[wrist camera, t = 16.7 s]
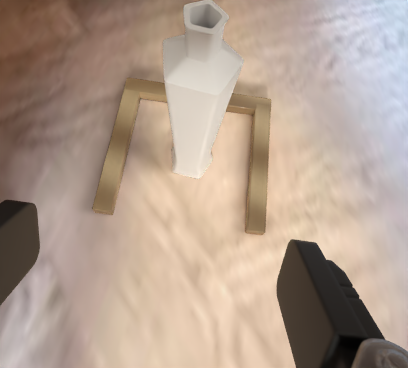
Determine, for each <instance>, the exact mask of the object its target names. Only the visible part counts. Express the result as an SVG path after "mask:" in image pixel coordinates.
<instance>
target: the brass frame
mask: <svg viewBox="0 0 408 368" xmlns="http://www.w3.org/2000/svg"><path fill="white" fill-rule="evenodd" d="M141 98H142V99H149V100H155V101H162V102H167V96H166V89H165V83H161V82H154V81H148V80H141V79H134V78H127V80H126V84H125V87H124V91H123V95H122V99H121V102H120V106H119V110H118V114H117V117H116V121H115V125H114V129H113V132H112V136H111V140H110V144H109V147H108V151H107V155H106V159H105V162H104V166H103V170H102V174H101V178H100V181H99V185H98V189H97V193H96V196H95V200H94V204H93V208H92V209H93V211H94V212H95V213H102V214H110V215H113V212H114V208H115V204H116V199H117V195H118V191H119V187H120V183H121V178H122V174H123V170H124V166H125V162H126V157H127V153H128V149H129V145H130V141H131V136H132V132H133V128H134V124H135V120H136V115H137V111H138V107H139V103H140V99H141ZM226 111H229V112H236V113H243V114H249V115H253V125H252V139H251V154H250V169H249V184H248V198H247V213H246V228H245V232H246V233H250V234H258V235H263V234H264V233H265V228H266V205H267V182H268V158H269V135H270V112H271V99H267V98H260V97H254V96H247V95H241V94H234V93H232V95H231V98H230V100H229V103H228V106H227V109H226Z"/></svg>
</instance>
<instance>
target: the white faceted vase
mask: <svg viewBox="0 0 408 368" xmlns="http://www.w3.org/2000/svg"><path fill="white" fill-rule="evenodd" d="M183 14H184V25H185V34H184V35H180V36H175V37H171V38H167V39H165V40H164V41H163V65H164V82H165V89H166V96H167V103H168V110H169V116H170V123H171V130H172V137H173V144H174V146H173V148H172V171H173V172H174V173H176V174H180V175H183V176H187V177H191V178H195V179H200V178H201V177H202V175H203V174H204V172H205V171H206V170H207V168H208V167H209V165H210V164H211V162H212V161H213V157H212V154H211V149H212V146H213V144H214V141H215V138H216V135H217V133H218V130H219V127H220V125H221V122H222V119H223V117H224V114H225V111H226V109H227V106H228V103H229V100H230V98H231V95H232V92H233V90H234V87H235V84H236V82H237V79H238V76H239V74H240V71H241V68H242V65H243V63H244V59H243V58H242V57H241V56H240V55H239V54H238V53H237V52H236V51H235V50H234V49H233V48H232V47H231V46H229V45H228V44H227V43H226V42H225V41H224V40H223V39H222V37H223V31H224V25H225V23H226V22H227V21H228V19H229V16H228V14H227V13H226V12H225V11H224V10H222V9H221V8H220V7H219V6H218V5H217V4H216V3H215V2H214V1H212V0H203V1H199V2H194V3H189V4H186V5H185V6H184V8H183Z"/></svg>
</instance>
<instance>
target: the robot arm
mask: <svg viewBox="0 0 408 368" xmlns="http://www.w3.org/2000/svg"><path fill="white" fill-rule="evenodd" d="M39 249H40V243H39V230H38V217H37V208H36V206H35V204H33V203H28V202H21V201H14V200H5V201H3V202H2V203H0V305H1V304H2V303H3V302H4V300H5V299H6V298H7V297H8V296H9V294H10V293H11V292H12V291H13V290H14V288H15V287H16V286H17V285H18V284H19V282H20V281H21V280H22V279H23V278H24V276H25V275H26V274H27V273H28V272H29V270H30V269H31V268H32V267H33V265H34V264H35V262H36V260H37V257H38V254H39ZM352 286H353V285H352V284H351V282H350V280H349V279H348V277H347V275H346V274H345V272H344V271H342V270H341V269H340V268H339V267H338V266H337V265H336V264H335V263H334V262H332V261H331V260H326V259H325V257H324V255H323V253H322V252H321V250H320V248H319V246H318V245H317V243H315V242H308V241H301V240H293V239H292V240H290V242H289V244H288V246H287V249H286V253H285V256H284V259H283V263H282V266H281V269H280V273H279V276H278V280H277V298H278V302H279V306H280V309H281V313H282V317H283V321H284V324H285V328H286V332H287V335H288V339H289V343H290V346H291V350H292V354H293V358H294V361H295V365H296V368H408V352H407V351H406V350H405V349H403V348H401V347H400V346H398V345H396V344H394V343H392V342H389V341H387V340H385V338H384V336H383V335H382V333H381V332H380V330H379V328H378V327H377V325H376V323H375V322H374V320H373V318H372V317H371V315H370V313H369V312H368V310H367V308H366V307H365V305H364V303H363V302H362V300H361V299H359V295H358V294H357V292H356V290H355V289H354V288H352Z"/></svg>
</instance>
